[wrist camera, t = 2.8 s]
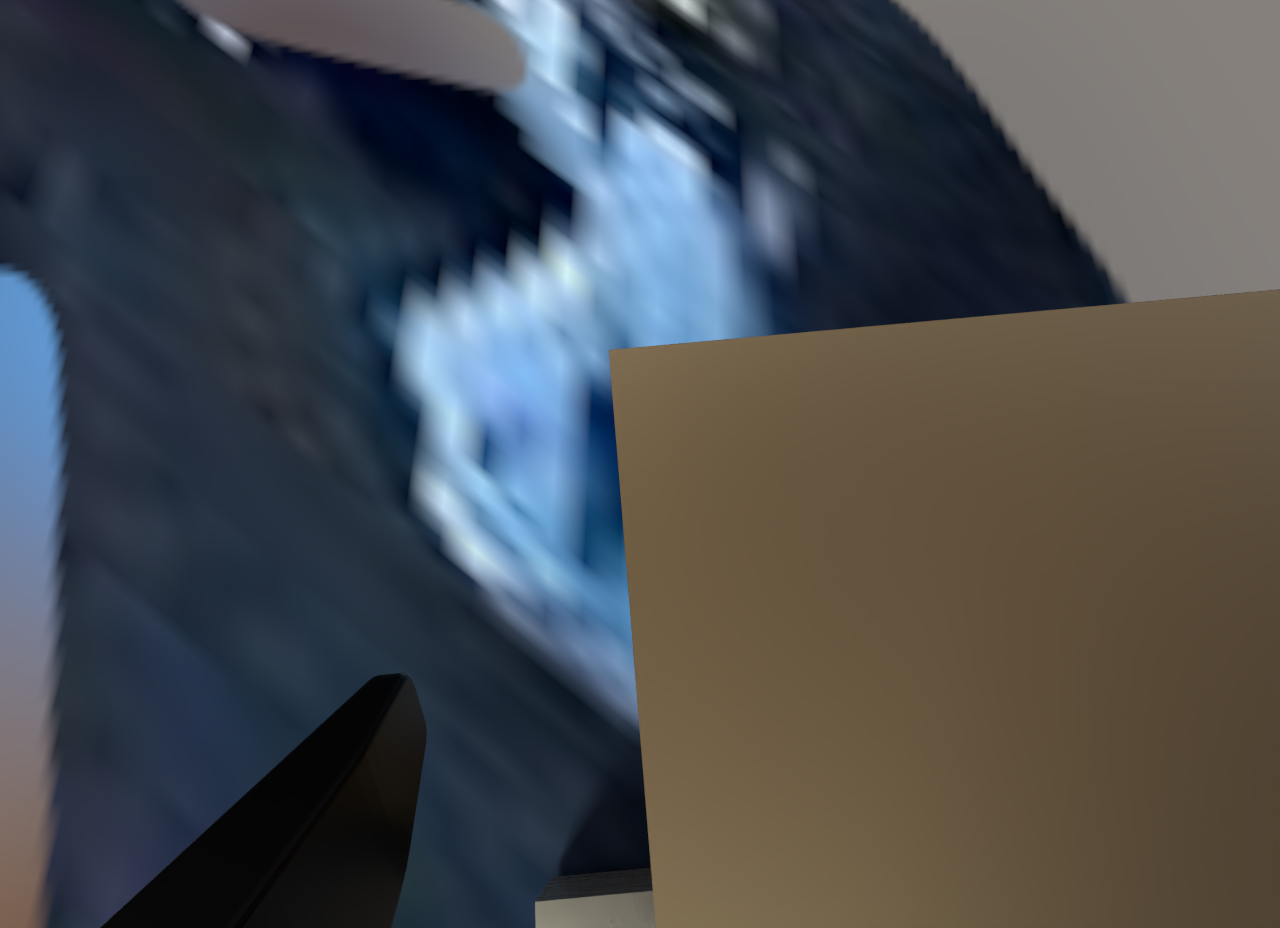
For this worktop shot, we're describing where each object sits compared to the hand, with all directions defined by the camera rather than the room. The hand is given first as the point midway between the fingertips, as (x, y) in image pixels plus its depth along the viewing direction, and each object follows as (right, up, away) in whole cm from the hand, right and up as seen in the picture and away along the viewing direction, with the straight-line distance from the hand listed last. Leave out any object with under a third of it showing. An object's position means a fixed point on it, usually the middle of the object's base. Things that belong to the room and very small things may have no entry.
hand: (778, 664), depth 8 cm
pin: (0, -3, +7) cm, 8 cm away
